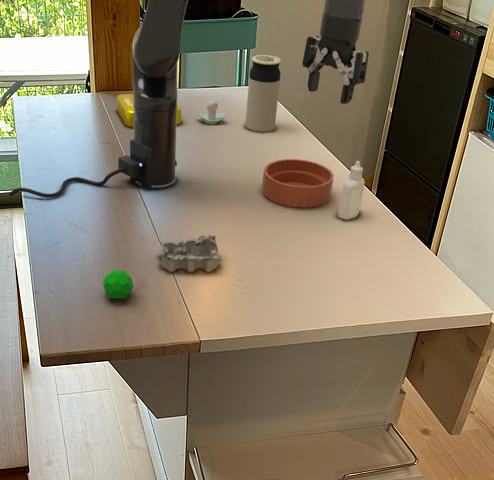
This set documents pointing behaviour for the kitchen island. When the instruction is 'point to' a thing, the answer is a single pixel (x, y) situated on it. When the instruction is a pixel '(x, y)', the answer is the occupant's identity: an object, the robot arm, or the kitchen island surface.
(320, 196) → the bowl
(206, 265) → the egg carton
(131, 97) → the element tile
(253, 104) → the travel mug
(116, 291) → the polyhedron
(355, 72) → the robot arm
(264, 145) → the kitchen island surface
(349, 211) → the eye dropper bottle
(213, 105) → the pacifier
